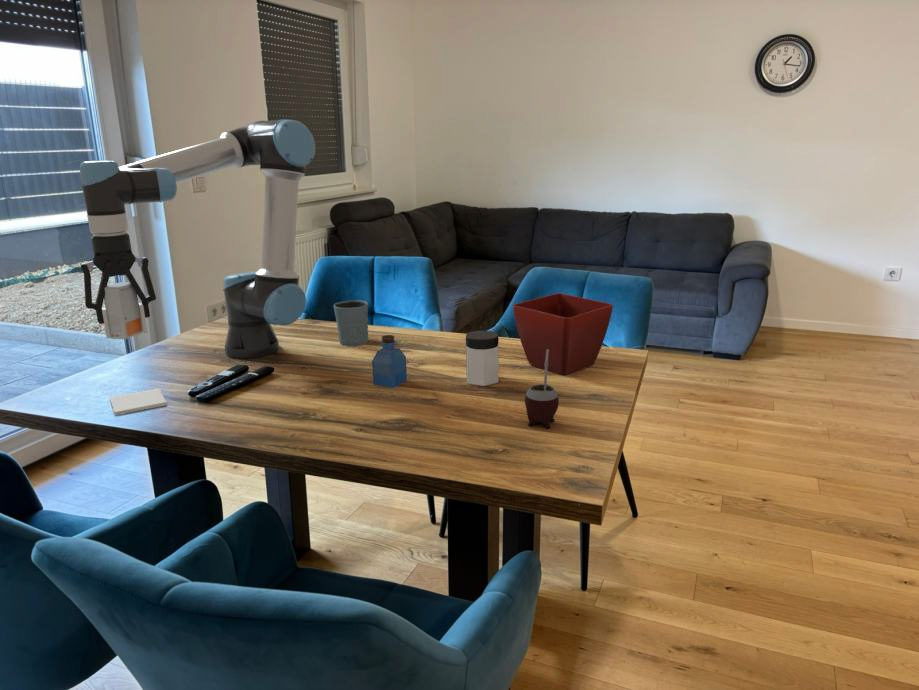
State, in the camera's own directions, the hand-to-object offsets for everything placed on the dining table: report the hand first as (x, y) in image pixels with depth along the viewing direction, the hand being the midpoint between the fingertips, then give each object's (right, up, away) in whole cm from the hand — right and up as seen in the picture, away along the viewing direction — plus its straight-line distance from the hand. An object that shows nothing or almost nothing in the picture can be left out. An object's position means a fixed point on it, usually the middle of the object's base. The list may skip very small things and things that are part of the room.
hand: (126, 333), depth 154 cm
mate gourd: (+94, -19, -10) cm, 97 cm away
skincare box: (0, -1, 0) cm, 1 cm away
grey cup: (+44, -2, +50) cm, 67 cm away
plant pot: (+104, -8, +26) cm, 107 cm away
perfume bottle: (+59, -12, +16) cm, 62 cm away
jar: (+82, -12, +16) cm, 85 cm away
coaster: (0, -16, +5) cm, 17 cm away
